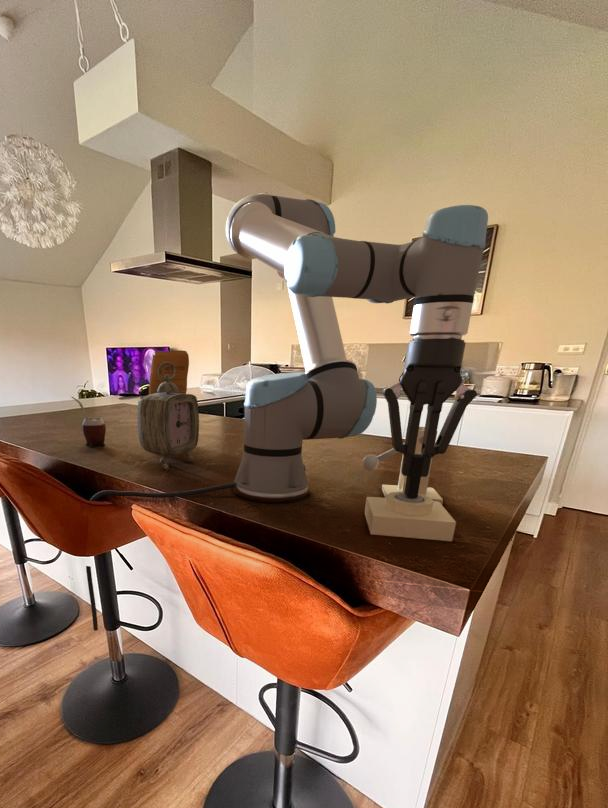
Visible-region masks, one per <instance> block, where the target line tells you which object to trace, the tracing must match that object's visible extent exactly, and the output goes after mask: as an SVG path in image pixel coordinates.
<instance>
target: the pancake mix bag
mask: <svg viewBox="0 0 608 808" xmlns="http://www.w3.org/2000/svg"><path fill="white" fill-rule="evenodd" d="M164 362H170V363H172V364H173V365H174V366H175V368H176V376H175V378H174V379H172V380H170V382H171V383H174V384H175V385H176V386H177V387H178V390H179V391H178V392H170V393H177V394H187V390H188V374H189V368H190V358H189V353H188V352H187V350H181V349H180V350H179V349H178V350H177V349H176V350H175V349H173V350H155V351H154V354H152V360H151V367H150V375H149V384H148V395H150V394H155V393H166V392H158V391H157V390H158V387H159V385H160V384H161V383H164V382H166V381H163V380H162V379H160V377H159V375H158V368H159V366H160V365H161V364H162V363H164ZM167 374H168V375H169V376H170V377H172V376H173V375H174V369H173V367H172V366H170V365H165V366H163V367H162V368H161V369H160V375H161V376H162V377H164V378H165V375H167Z"/></svg>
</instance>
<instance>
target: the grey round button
mask: <svg viewBox="0 0 608 808" xmlns="http://www.w3.org/2000/svg"><path fill="white" fill-rule="evenodd" d="M396 499H398V500H401V501H405V502H413V503H419V502H423V497H422V496H419V495H418V497H417V498H407V496H406V495H405V493H399V494H397V496H396Z"/></svg>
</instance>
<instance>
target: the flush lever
mask: <svg viewBox="0 0 608 808" xmlns="http://www.w3.org/2000/svg"><path fill="white" fill-rule="evenodd" d="M421 430H424V428H423V429H421ZM403 444H405V441H404V442H403ZM398 453H399V452H397V451H396V450H395V449H394V448H393V447H392V448H391V449H389V450H387V451H385V452H382V453H380V454H379V455H375V454H367V455H366V456H364V458H363V459H362V466H363V468H364V469H365V470H367V471H375V470H377V469H378V468H379V466H380V462H382V461H384V460H386V459H388V458H390V457H392V456H394V455H396V454H398Z"/></svg>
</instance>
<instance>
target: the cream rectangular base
mask: <svg viewBox="0 0 608 808" xmlns="http://www.w3.org/2000/svg"><path fill="white" fill-rule="evenodd" d="M399 493H404V492H391V493H389V494H387V495H386V498H385V497H380V496H379V497H378V496H366V499H365V505H364V506H365V507H364V516H365V519H366V520H365V521H366V523H367V527H368V530H369V533H370V535H375V536H386V537H398V538H410V539H422V540H433V541H444V542H453V539H454V534H455V530H456V526H457V521H456V520H455V519H454V517H452V515H451V514H450V513H449V512H448V511H447V509H446V508H445V507H444V506H443V504H442V505H441V503H440V502H436V501H433V500H432V499H431V498H430V497H427V496H425V495H422V494H418V495H419V496H422V497H423V502H419V503H413V502H405V501H401V500H398V499H396V496H397V494H399Z"/></svg>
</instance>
